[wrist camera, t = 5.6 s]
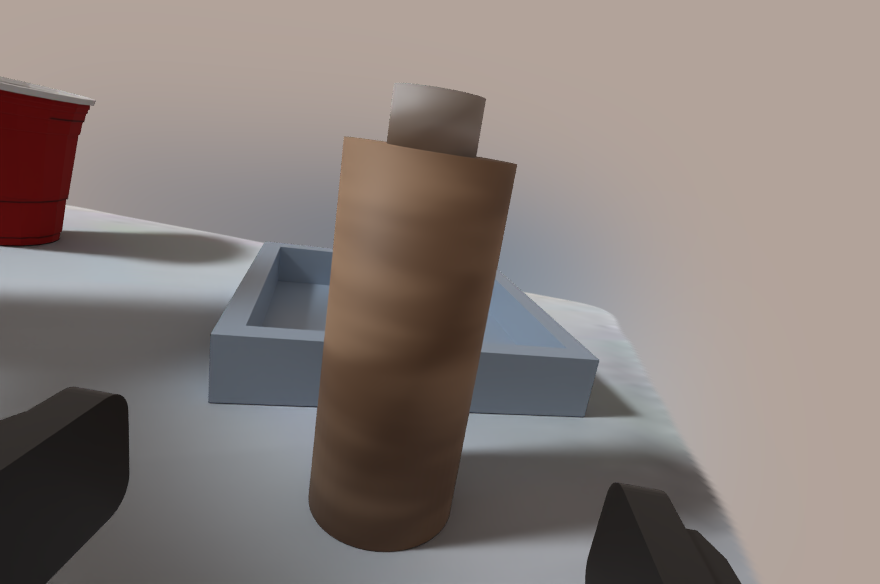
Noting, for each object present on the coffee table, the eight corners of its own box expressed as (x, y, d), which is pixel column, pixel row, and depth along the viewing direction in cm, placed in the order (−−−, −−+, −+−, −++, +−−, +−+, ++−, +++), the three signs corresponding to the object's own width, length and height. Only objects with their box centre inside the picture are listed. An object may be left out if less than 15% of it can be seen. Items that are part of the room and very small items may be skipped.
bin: (208, 402, 22) (210, 333, 21) (262, 282, 39) (265, 241, 38) (584, 416, 26) (599, 360, 25) (487, 302, 43) (493, 265, 42)
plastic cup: (85, 259, 38) (78, 86, 34) (-114, 250, 33) (-144, 50, 30) (112, 228, 47) (109, 90, 44) (-40, 218, 43) (-56, 64, 39)
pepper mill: (304, 553, 15) (352, 65, 11) (311, 453, 20) (347, 82, 16) (465, 549, 16) (558, 104, 13) (436, 455, 21) (497, 109, 17)
